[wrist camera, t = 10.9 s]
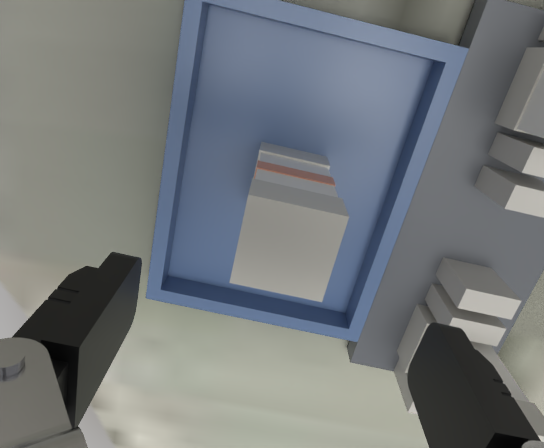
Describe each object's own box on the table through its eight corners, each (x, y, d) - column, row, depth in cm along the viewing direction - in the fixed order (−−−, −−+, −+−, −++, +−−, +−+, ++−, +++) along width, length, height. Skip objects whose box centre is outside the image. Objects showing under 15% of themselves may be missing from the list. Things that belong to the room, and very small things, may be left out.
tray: (198, -16, 21) (187, -23, 19) (449, 48, 22) (468, 48, 20) (157, 277, 28) (145, 298, 25) (351, 318, 29) (357, 342, 26)
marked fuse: (261, 141, 23) (248, 194, 15) (326, 156, 24) (349, 216, 15) (248, 203, 25) (229, 282, 16) (309, 216, 25) (321, 302, 17)
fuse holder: (476, -1, 21) (529, -14, 16) (642, 43, 22) (740, 42, 17) (347, 347, 29) (358, 403, 25) (469, 372, 30) (503, 432, 25)
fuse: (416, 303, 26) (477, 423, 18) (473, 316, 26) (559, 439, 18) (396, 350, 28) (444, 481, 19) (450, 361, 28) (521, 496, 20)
